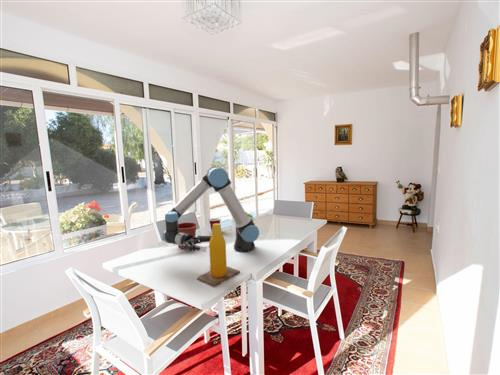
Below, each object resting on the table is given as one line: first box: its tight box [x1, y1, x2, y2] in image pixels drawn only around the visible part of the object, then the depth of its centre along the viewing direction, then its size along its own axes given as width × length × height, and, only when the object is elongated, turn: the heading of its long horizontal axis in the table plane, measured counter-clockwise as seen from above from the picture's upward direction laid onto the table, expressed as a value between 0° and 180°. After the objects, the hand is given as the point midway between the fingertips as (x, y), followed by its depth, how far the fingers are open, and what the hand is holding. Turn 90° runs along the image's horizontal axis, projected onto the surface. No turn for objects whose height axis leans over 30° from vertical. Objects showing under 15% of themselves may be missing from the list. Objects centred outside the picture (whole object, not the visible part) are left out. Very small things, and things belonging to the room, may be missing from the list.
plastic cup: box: [208, 217, 222, 231], centre depth 229 cm, size 11×11×12 cm
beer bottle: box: [208, 222, 227, 278], centre depth 147 cm, size 9×9×29 cm
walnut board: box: [196, 266, 241, 288], centre depth 149 cm, size 20×14×1 cm
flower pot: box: [177, 222, 198, 250], centre depth 197 cm, size 16×16×16 cm
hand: (213, 245), depth 148 cm, fingers open, 13 cm apart
